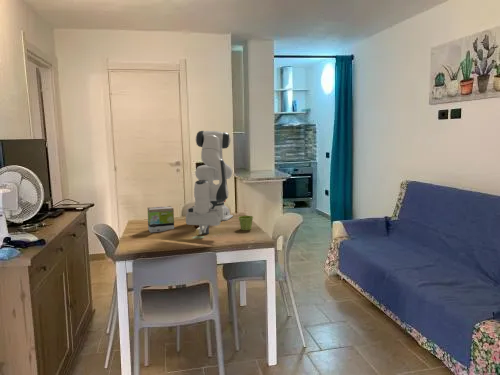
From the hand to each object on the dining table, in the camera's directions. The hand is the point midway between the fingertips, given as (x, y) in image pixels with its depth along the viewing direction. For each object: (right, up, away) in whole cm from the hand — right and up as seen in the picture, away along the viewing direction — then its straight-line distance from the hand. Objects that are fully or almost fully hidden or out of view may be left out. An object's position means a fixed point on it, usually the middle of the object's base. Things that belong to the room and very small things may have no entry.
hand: (203, 232), depth 228 cm
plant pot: (+24, -1, +19) cm, 31 cm away
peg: (-2, -2, +4) cm, 5 cm away
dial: (0, -3, +10) cm, 10 cm away
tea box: (-30, -2, +26) cm, 40 cm away
